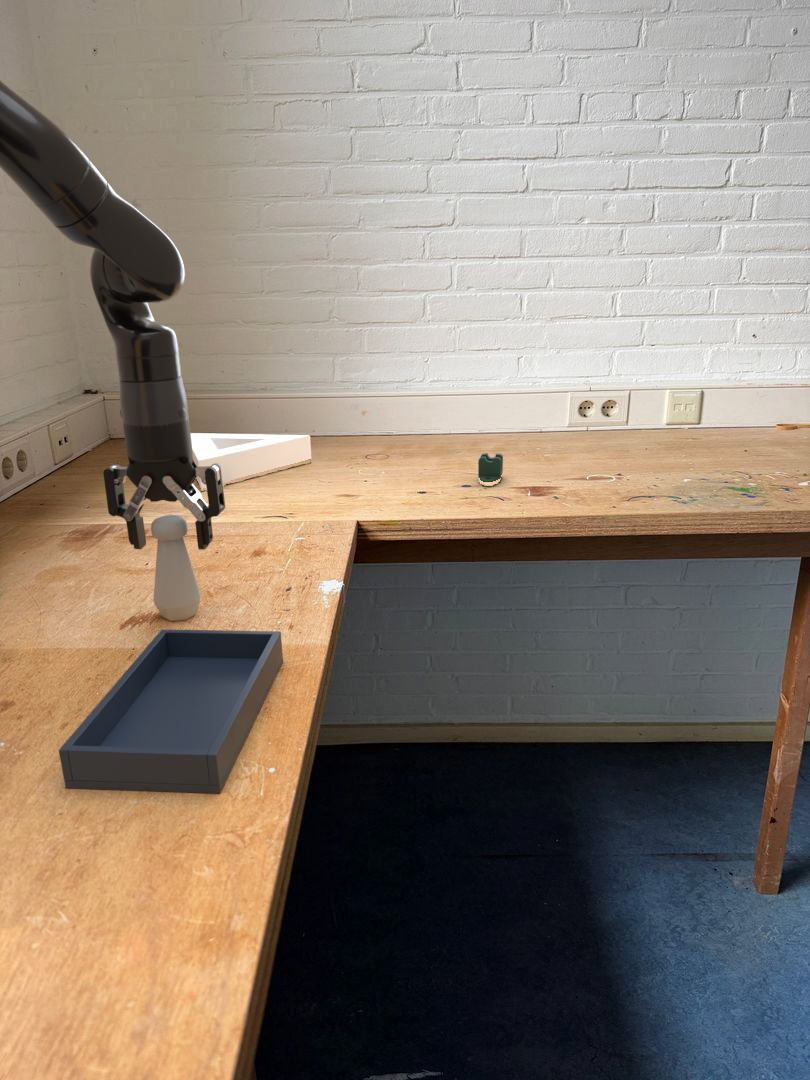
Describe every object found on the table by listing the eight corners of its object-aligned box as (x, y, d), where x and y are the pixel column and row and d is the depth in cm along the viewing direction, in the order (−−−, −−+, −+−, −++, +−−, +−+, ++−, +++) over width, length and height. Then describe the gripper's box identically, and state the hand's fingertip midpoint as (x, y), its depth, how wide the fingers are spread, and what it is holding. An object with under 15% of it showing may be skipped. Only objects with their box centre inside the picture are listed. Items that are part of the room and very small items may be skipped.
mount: (498, 487, 157) (498, 462, 156) (475, 486, 158) (476, 461, 157) (504, 473, 167) (504, 450, 166) (483, 472, 168) (483, 449, 167)
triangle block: (311, 463, 180) (310, 435, 178) (273, 494, 156) (271, 462, 154) (187, 459, 185) (184, 432, 183) (131, 489, 161) (127, 459, 159)
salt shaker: (171, 628, 98) (159, 528, 94) (147, 615, 102) (134, 518, 98) (211, 613, 102) (201, 516, 98) (186, 601, 106) (175, 508, 102)
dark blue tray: (65, 788, 68) (58, 750, 67) (165, 659, 91) (161, 629, 89) (220, 793, 67) (215, 755, 66) (283, 661, 89) (280, 631, 88)
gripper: (224, 410, 97) (236, 538, 102) (110, 411, 98) (128, 537, 103) (204, 422, 90) (218, 558, 95) (82, 423, 91) (103, 557, 96)
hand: (171, 547), depth 99 cm, fingers open, 7 cm apart
